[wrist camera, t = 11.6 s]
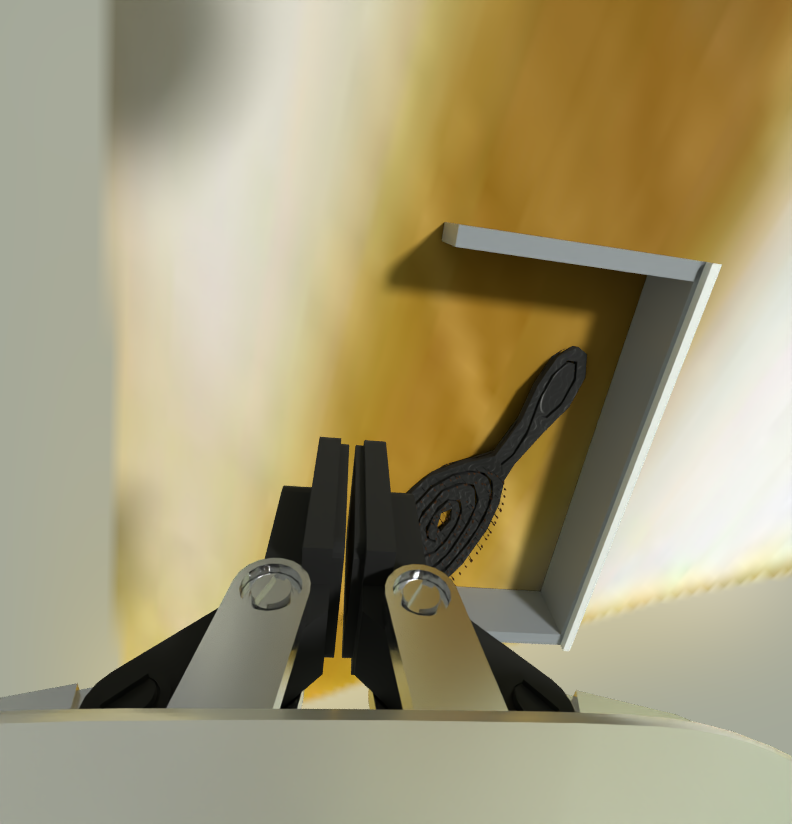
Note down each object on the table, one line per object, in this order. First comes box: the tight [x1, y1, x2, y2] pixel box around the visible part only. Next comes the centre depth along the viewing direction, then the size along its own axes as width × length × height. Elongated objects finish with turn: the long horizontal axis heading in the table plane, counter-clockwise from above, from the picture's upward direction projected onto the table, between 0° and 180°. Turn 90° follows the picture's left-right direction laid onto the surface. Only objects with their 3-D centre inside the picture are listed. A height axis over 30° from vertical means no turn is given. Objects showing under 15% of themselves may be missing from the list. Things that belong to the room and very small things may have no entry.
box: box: [442, 222, 722, 651], centre depth 36 cm, size 32×16×6 cm, turn 172°
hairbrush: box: [407, 346, 587, 580], centre depth 38 cm, size 8×4×25 cm
